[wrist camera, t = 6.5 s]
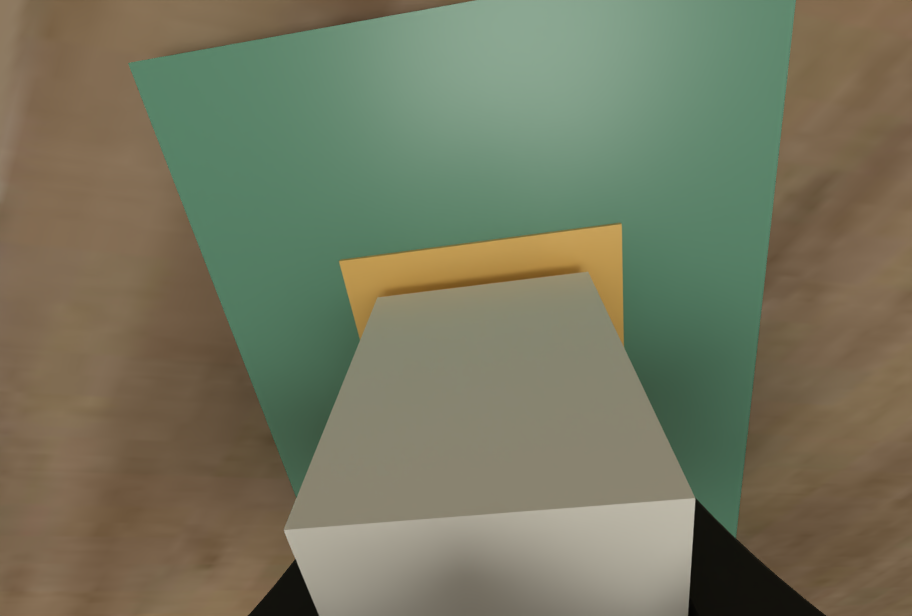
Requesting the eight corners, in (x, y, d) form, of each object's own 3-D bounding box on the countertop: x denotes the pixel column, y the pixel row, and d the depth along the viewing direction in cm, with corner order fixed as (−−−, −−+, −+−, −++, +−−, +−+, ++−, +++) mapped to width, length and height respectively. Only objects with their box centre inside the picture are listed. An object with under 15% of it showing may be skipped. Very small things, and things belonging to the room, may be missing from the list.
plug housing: (588, 271, 11) (694, 497, 5) (600, 533, 14) (673, 836, 9) (377, 297, 11) (283, 529, 6) (437, 545, 15) (412, 839, 9)
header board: (767, -48, 10) (912, -95, 6) (711, 591, 18) (764, 717, 14) (162, 61, 11) (26, 68, 8) (361, 612, 19) (336, 733, 16)
